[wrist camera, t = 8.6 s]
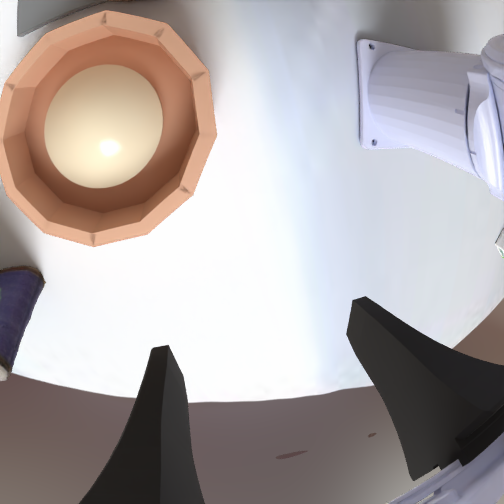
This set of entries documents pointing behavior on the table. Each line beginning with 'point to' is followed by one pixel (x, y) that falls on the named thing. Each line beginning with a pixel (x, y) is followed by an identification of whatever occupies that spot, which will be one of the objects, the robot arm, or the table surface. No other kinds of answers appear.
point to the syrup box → (501, 243)
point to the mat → (46, 12)
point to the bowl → (105, 128)
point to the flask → (16, 310)
